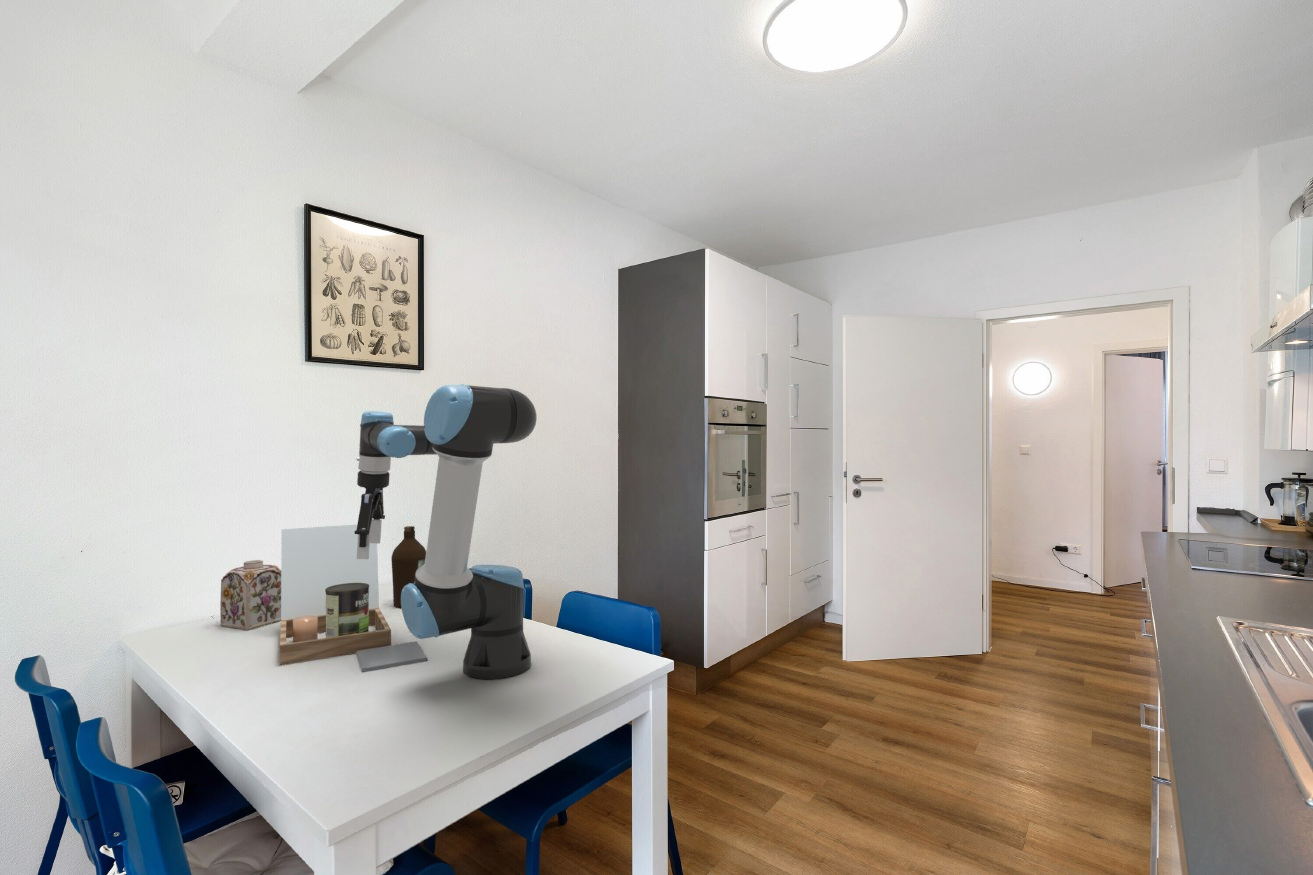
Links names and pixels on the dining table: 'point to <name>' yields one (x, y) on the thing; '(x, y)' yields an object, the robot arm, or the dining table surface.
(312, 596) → the pale grey square panel
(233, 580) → the decorative jar
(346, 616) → the coffee can
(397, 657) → the plate
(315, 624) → the pink pillar candle
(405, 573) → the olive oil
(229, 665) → the dining table surface
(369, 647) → the open wooden box
